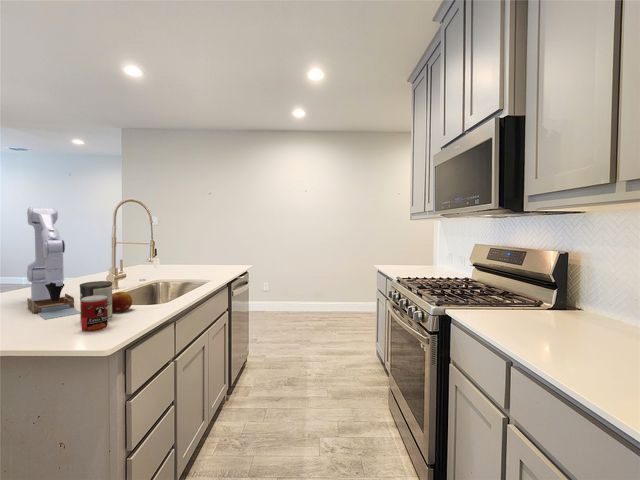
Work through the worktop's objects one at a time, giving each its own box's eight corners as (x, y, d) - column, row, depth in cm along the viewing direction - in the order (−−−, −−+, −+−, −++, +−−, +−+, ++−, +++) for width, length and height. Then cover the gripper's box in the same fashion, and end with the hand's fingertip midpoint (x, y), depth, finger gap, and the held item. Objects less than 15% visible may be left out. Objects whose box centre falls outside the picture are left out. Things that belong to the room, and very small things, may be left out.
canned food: (87, 333, 105) (86, 301, 105) (77, 328, 109) (76, 298, 109) (112, 327, 112) (111, 297, 111) (101, 323, 116) (101, 294, 115)
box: (27, 308, 133) (27, 298, 132) (65, 302, 143) (65, 293, 143) (34, 314, 125) (34, 303, 125) (74, 307, 136) (73, 297, 136)
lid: (37, 315, 126) (37, 309, 126) (72, 309, 135) (72, 303, 135) (44, 321, 119) (44, 315, 119) (81, 314, 128) (81, 308, 128)
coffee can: (76, 324, 114) (75, 286, 113) (84, 317, 123) (83, 281, 122) (110, 321, 118) (109, 285, 117) (114, 314, 127) (114, 280, 127)
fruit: (103, 315, 126) (102, 295, 126) (108, 309, 134) (108, 291, 134) (130, 313, 130) (130, 294, 129) (134, 307, 138) (134, 289, 138)
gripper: (37, 267, 131) (38, 299, 131) (46, 271, 122) (47, 305, 123) (58, 266, 136) (59, 296, 137) (68, 269, 127) (69, 302, 128)
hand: (55, 300), depth 130 cm, fingers closed
